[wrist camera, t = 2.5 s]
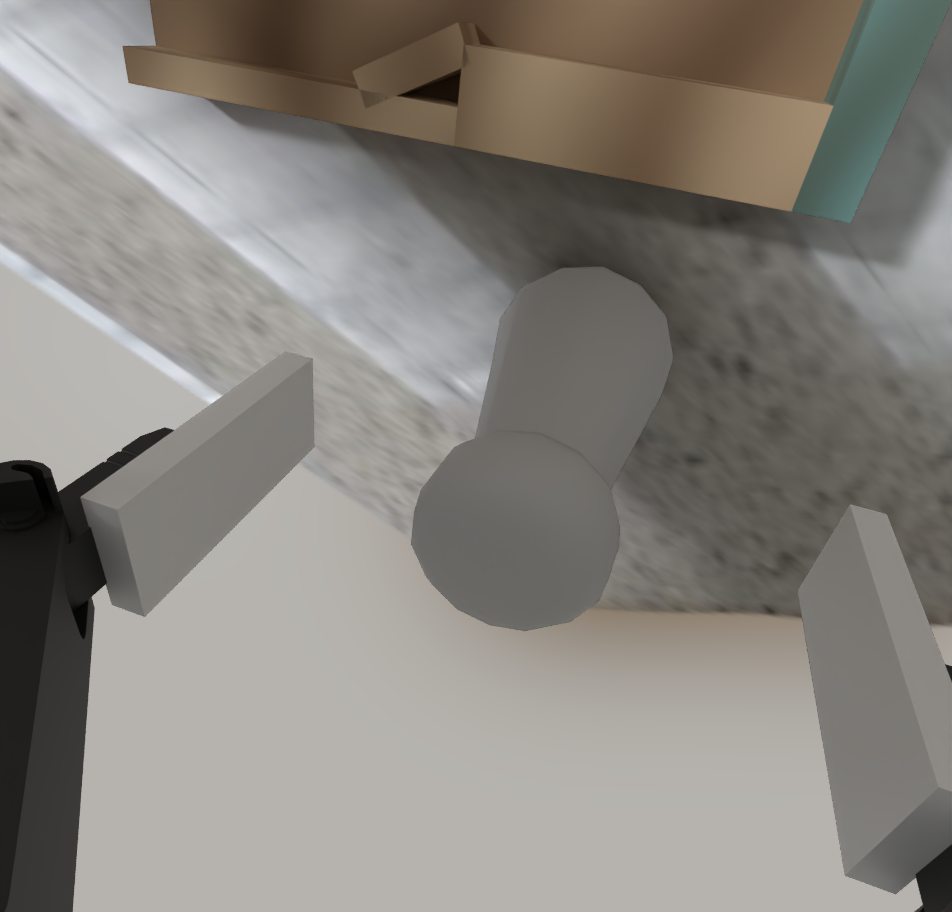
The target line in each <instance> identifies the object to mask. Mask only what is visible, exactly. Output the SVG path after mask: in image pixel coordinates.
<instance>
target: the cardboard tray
mask: <svg viewBox="0 0 952 912" xmlns="http://www.w3.org/2000/svg"><path fill="white" fill-rule="evenodd" d="M951 2H952V0H150V6H151V13H152V20H153V28H154V35H155V42H156V46H123V51H124V57H125V63H126V69H127V75H128V81H129V83H131V84H137V85H142V86H147V87H152V88H157V89H162V90H167V91H173V92H178V93H183V94H188V95H193V96H198V97H203V98H209V99H214V100H219V101H224V102H229V103H234V104H239V105H245V106H250V107H255V108H260V109H265V110H270V111H275V112H281V113H286V114H291V115H296V116H301V117H306V118H311V119H317V120H322V121H327V122H332V123H337V124H342V125H347V126H353V127H358V128H363V129H368V130H373V131H378V132H383V133H389V134H394V135H399V136H404V137H409V138H414V139H419V140H425V141H430V142H435V143H440V144H445V145H450V146H455V147H461V148H466V149H471V150H476V151H481V152H486V153H491V154H497V155H502V156H507V157H512V158H517V159H522V160H527V161H533V162H538V163H543V164H548V165H553V166H558V167H563V168H569V169H574V170H579V171H584V172H589V173H594V174H599V175H605V176H610V177H615V178H620V179H625V180H630V181H635V182H641V183H646V184H651V185H656V186H661V187H666V188H671V189H677V190H682V191H687V192H692V193H697V194H702V195H707V196H713V197H718V198H723V199H728V200H733V201H738V202H743V203H749V204H754V205H759V206H764V207H769V208H774V209H779V210H785V211H790V212H795V213H800V214H805V215H810V216H815V217H821V218H826V219H831V220H836V221H841V222H846V223H851V221H852V218H853V216H854V214H855V212H856V210H857V208H858V205H859V203H860V201H861V199H862V197H863V194H864V192H865V190H866V188H867V186H868V183H869V181H870V179H871V177H872V175H873V173H874V170H875V168H876V166H877V164H878V162H879V159H880V157H881V155H882V153H883V151H884V149H885V146H886V144H887V142H888V140H889V138H890V135H891V133H892V131H893V129H894V127H895V124H896V122H897V120H898V118H899V116H900V114H901V111H902V109H903V107H904V105H905V103H906V100H907V98H908V96H909V94H910V92H911V89H912V87H913V85H914V83H915V81H916V79H917V76H918V74H919V72H920V70H921V68H922V65H923V63H924V61H925V59H926V57H927V54H928V52H929V50H930V48H931V46H932V44H933V41H934V39H935V37H936V35H937V33H938V30H939V28H940V26H941V24H942V22H943V20H944V17H945V15H946V13H947V11H948V9H949V6H950V4H951Z"/></svg>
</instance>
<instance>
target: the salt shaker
mask: <svg viewBox="0 0 952 912" xmlns="http://www.w3.org/2000/svg"><path fill="white" fill-rule="evenodd" d="M672 362H673V354H672V348H671V342H670V336H669V330H668V323H667V319H666V316H665V314H664V313H663V312H662V311H661V309H660V308H659V307H658V306H657V305H656V303H655V302H654V301H653V300H652V299H651V297H650V296H649V295H648V294H647V292H646V291H645V290H644V289H643V288H642V286H641V285H640V284H638V283H636V282H634V281H632V280H630V279H628V278H626V277H624V276H622V275H620V274H618V273H616V272H613V271H611V270H609V269H607V268H605V267H603V266H599V267H572V268H561V269H559V270H557V271H555V272H553V273H551V274H548V275H546V276H544V277H542V278H540V279H538V280H536V281H534V282H532V283H529V284H527V285H525V286H524V287H522V288H521V290H520V291H519V292H518V294H517V295H516V297H515V298H514V300H513V301H512V302H511V304H510V305H509V307H508V308H507V310H506V311H505V312H504V314H503V315H502V317H501V318H500V323H499V328H498V333H497V339H496V344H495V350H494V355H493V360H492V365H491V370H490V374H489V379H488V383H487V387H486V392H485V396H484V401H483V405H482V409H481V414H480V418H479V423H478V427H477V431H476V436H475V439H473V440H470V441H467V442H465V443H462V444H460V445H458V446H456V447H454V448H453V449H452V451H451V452H450V453H449V455H448V456H447V457H446V458H445V460H444V461H443V462H442V463H441V465H440V466H439V467H438V469H437V470H436V471H435V472H434V474H433V475H432V476H431V478H430V479H429V480H428V482H427V483H426V484H425V485H424V487H423V488H422V489H421V491H420V494H419V498H418V501H417V504H416V507H415V510H414V519H413V529H412V539H411V545H412V547H413V549H414V551H415V554H416V556H417V558H418V560H419V562H420V565H421V567H422V569H423V571H424V573H425V575H426V577H427V579H428V580H429V581H430V582H431V584H432V585H433V586H434V587H435V588H436V589H437V590H438V591H439V592H440V593H441V594H442V595H443V596H444V597H445V598H446V599H447V600H448V601H449V602H450V603H451V604H452V605H453V606H454V607H455V608H456V609H458V610H459V611H462V612H464V613H466V614H468V615H470V616H472V617H474V618H476V619H478V620H480V621H483V622H484V623H486V624H489V625H492V626H498V627H504V628H510V629H516V630H522V631H528V630H532V629H538V628H542V627H548V626H552V625H557V624H562V623H567V622H571V621H572V620H574V619H575V618H576V617H578V616H579V615H580V614H582V613H583V612H584V611H586V610H587V609H589V608H590V607H591V606H593V605H594V604H595V603H597V602H598V601H599V599H600V597H601V595H602V593H603V590H604V588H605V586H606V584H607V582H608V579H609V576H610V573H611V569H612V566H613V563H614V560H615V557H616V554H617V551H618V548H619V537H620V525H619V520H618V516H617V512H616V508H615V504H614V499H613V495H612V491H611V489H612V487H613V485H614V483H615V481H616V479H617V477H618V476H619V474H620V472H621V470H622V468H623V466H624V464H625V463H626V461H627V459H628V457H629V455H630V453H631V451H632V449H633V448H634V446H635V444H636V442H637V440H638V438H639V436H640V435H641V433H642V431H643V429H644V427H645V425H646V423H647V422H648V420H649V418H650V416H651V414H652V412H653V410H654V408H655V407H656V405H657V403H658V401H659V399H660V397H661V395H662V393H663V390H664V387H665V383H666V380H667V377H668V374H669V371H670V368H671V365H672Z"/></svg>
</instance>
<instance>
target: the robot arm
mask: <svg viewBox="0 0 952 912" xmlns="http://www.w3.org/2000/svg"><path fill="white" fill-rule="evenodd" d="M313 448H314V405H313V359H312V358H308V357H305V356H301V355H297V354H294V353H290V352H284V353H283V354H281V355H280V356H279V357H277V358H276V359H274V360H273V361H271V362H270V363H269V364H267V365H266V366H264V367H263V368H262V369H260V370H259V371H257V372H256V373H255V374H253V375H252V376H250V377H249V378H248V379H246V380H245V381H243V382H242V383H240V384H239V385H238V386H236V387H235V388H233V389H232V390H231V391H229V392H228V393H226V394H225V395H224V396H222V397H221V398H219V399H218V400H216V401H215V402H214V403H212V404H211V405H210V406H208V407H207V408H205V409H204V410H202V411H201V412H200V413H198V414H197V415H195V416H194V417H193V418H191V419H190V420H188V421H187V422H185V423H184V424H183V425H181V426H180V427H179V428H177V429H176V430H172V429H169V428H162V429H159V430H157V431H154V432H151V433H149V434H145V435H143V436H140V437H139V438H137V439H136V440H135V441H133V442H131V443H130V444H129V445H127V446H126V447H124V448H123V449H122V451H121V452H117V453H115V454H114V455H112V456H111V457H109V458H108V459H107V461H106V462H102V463H100V464H99V465H97V466H96V467H95V468H93V469H92V470H90V471H89V472H87V473H86V474H84V475H83V476H81V477H80V478H78V479H77V480H75V481H74V482H72V483H71V484H69V485H68V486H67V487H65V488H64V489H62V490H61V491H59V492H58V491H57V488H56V485H55V481H54V478H53V476H52V472H51V469H50V468H48V467H47V466H46V465H44V464H43V463H39V462H35V461H31V460H15V461H14V460H13V461H8V462H3V463H0V912H73V897H74V885H75V871H76V856H77V843H78V829H79V816H80V802H81V787H82V774H83V760H84V745H85V733H86V719H87V706H88V692H89V677H90V663H91V650H92V636H93V623H94V605H93V600H92V596H93V595H94V594H95V593H96V592H97V591H98V590H99V589H101V588H102V587H103V586H104V585H105V584H106V586H107V590H108V593H109V596H110V600H111V603H112V605H114V606H117V607H119V608H122V609H125V610H128V611H130V612H133V613H136V614H138V615H141V616H144V617H145V616H146V615H147V614H148V613H149V612H150V611H151V610H152V609H153V608H154V607H155V606H156V605H157V604H158V603H159V602H160V601H161V600H162V599H163V598H164V597H165V596H166V595H167V594H168V593H169V592H170V591H171V590H172V589H173V588H174V587H175V586H176V585H177V584H178V583H179V582H180V581H181V580H182V579H183V578H184V577H185V576H186V575H187V574H188V573H189V572H190V571H191V570H192V569H193V568H194V567H195V566H196V565H197V564H198V563H199V562H200V561H201V560H202V559H203V558H204V557H205V556H206V555H207V554H208V553H209V552H210V551H211V550H212V549H213V548H214V547H215V546H216V545H217V544H218V543H219V542H220V541H221V540H222V539H223V538H224V537H225V536H226V535H227V534H228V533H229V532H230V531H231V530H232V529H233V528H234V527H235V526H236V525H237V524H238V523H239V522H240V521H241V520H242V519H243V518H244V517H245V516H246V515H247V514H248V513H249V512H250V511H251V510H252V509H253V508H254V507H255V506H256V505H257V504H258V503H259V502H260V501H261V500H262V499H263V498H264V497H265V496H266V495H267V494H268V493H269V492H270V491H271V490H272V489H273V488H274V487H275V486H276V485H277V484H278V483H279V482H280V481H281V480H282V479H283V478H284V477H285V476H286V475H287V474H288V473H289V472H290V471H291V470H292V469H293V468H294V467H295V466H296V465H297V464H298V463H299V462H300V461H301V460H302V459H303V458H304V457H305V456H306V455H307V454H308V453H309V452H310V451H311V450H312V449H313ZM798 597H799V603H800V609H801V615H802V621H803V627H804V633H805V638H806V644H807V651H808V657H809V663H810V669H811V675H812V681H813V687H814V693H815V698H816V705H817V711H818V717H819V723H820V729H821V735H822V741H823V747H824V753H825V759H826V765H827V771H828V777H829V783H830V789H831V795H832V801H833V807H834V813H835V819H836V825H837V831H838V837H839V844H840V850H841V855H842V862H843V868H844V874H845V876H848V877H850V878H853V879H856V880H859V881H861V882H864V883H866V884H869V885H872V886H875V887H877V888H880V889H883V890H886V891H888V892H891V893H894V894H897V893H898V892H899V891H900V890H901V889H903V888H904V887H905V886H906V885H907V884H909V883H910V882H911V881H912V880H913V879H915V878H916V879H917V883H918V887H919V891H920V895H921V899H922V902H923V905H922V906H921V907H920V908H919V909H917V910H916V911H915V912H952V666H949V665H946V664H944V661H943V658H942V656H941V653H940V651H939V648H938V645H937V643H936V640H935V638H934V635H933V633H932V630H931V627H930V625H929V622H928V619H927V617H926V614H925V612H924V609H923V607H922V604H921V601H920V599H919V596H918V594H917V591H916V588H915V586H914V583H913V581H912V578H911V576H910V573H909V570H908V568H907V565H906V563H905V560H904V557H903V555H902V552H901V550H900V547H899V544H898V542H897V539H896V537H895V534H894V532H893V529H892V526H891V524H890V521H889V519H888V516H887V514H884V513H881V512H877V511H873V510H870V509H866V508H862V507H859V506H855V505H851V504H850V505H849V506H848V508H847V510H846V511H845V513H844V515H843V516H842V518H841V520H840V521H839V523H838V525H837V526H836V528H835V530H834V531H833V533H832V534H831V536H830V538H829V539H828V541H827V543H826V544H825V546H824V548H823V549H822V551H821V553H820V554H819V556H818V558H817V559H816V561H815V563H814V564H813V566H812V568H811V569H810V571H809V573H808V574H807V576H806V577H805V579H804V581H803V582H802V584H801V586H800V587H799V589H798Z"/></svg>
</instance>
